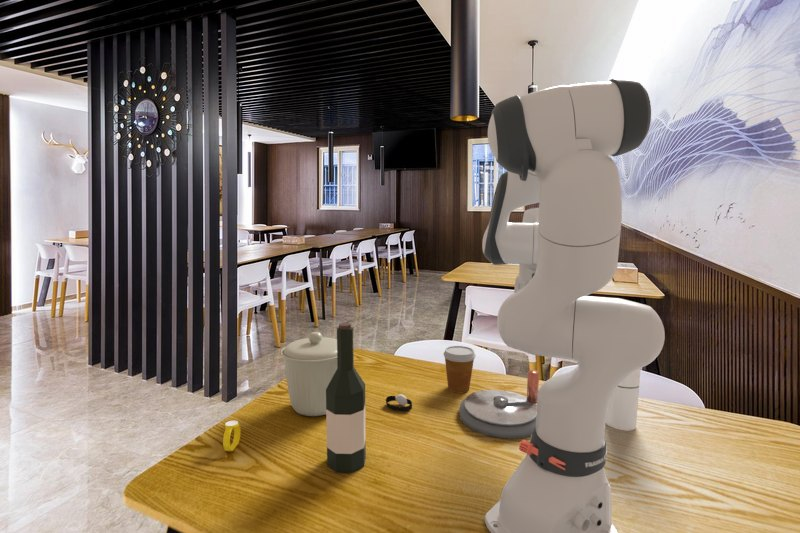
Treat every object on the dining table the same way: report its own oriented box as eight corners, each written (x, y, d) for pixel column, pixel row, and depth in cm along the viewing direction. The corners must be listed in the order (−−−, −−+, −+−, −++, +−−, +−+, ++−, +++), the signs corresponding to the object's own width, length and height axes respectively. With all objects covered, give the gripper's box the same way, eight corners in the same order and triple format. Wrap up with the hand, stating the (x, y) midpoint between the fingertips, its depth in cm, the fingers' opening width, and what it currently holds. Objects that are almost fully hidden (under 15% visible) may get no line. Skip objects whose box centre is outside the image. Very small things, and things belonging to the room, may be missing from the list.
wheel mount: (505, 448, 96) (505, 439, 96) (442, 413, 113) (442, 405, 112) (559, 421, 108) (560, 413, 108) (495, 393, 125) (496, 386, 125)
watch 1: (232, 442, 99) (231, 417, 98) (244, 442, 99) (243, 417, 98) (220, 455, 93) (219, 428, 92) (232, 455, 93) (232, 428, 92)
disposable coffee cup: (437, 385, 131) (437, 347, 129) (463, 380, 135) (464, 343, 133) (453, 397, 122) (454, 357, 121) (481, 391, 126) (482, 352, 125)
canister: (314, 431, 103) (312, 347, 100) (268, 410, 114) (265, 334, 111) (364, 405, 117) (363, 330, 115) (319, 388, 128) (317, 320, 126)
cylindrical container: (628, 417, 111) (635, 323, 108) (641, 431, 104) (649, 331, 101) (600, 416, 111) (606, 322, 108) (610, 429, 104) (617, 330, 101)
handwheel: (476, 428, 100) (477, 389, 99) (456, 395, 118) (457, 362, 117) (553, 424, 102) (555, 386, 101) (523, 392, 120) (524, 359, 119)
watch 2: (415, 407, 116) (415, 395, 116) (407, 415, 112) (407, 401, 112) (390, 402, 120) (390, 389, 119) (382, 408, 116) (382, 396, 115)
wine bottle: (323, 455, 93) (320, 321, 89) (360, 448, 96) (359, 317, 92) (331, 477, 85) (328, 331, 81) (371, 468, 88) (370, 327, 84)
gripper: (509, 267, 117) (507, 316, 119) (544, 279, 97) (541, 338, 98) (530, 267, 118) (528, 315, 119) (570, 279, 97) (567, 337, 99)
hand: (534, 326), depth 109 cm, fingers open, 8 cm apart
